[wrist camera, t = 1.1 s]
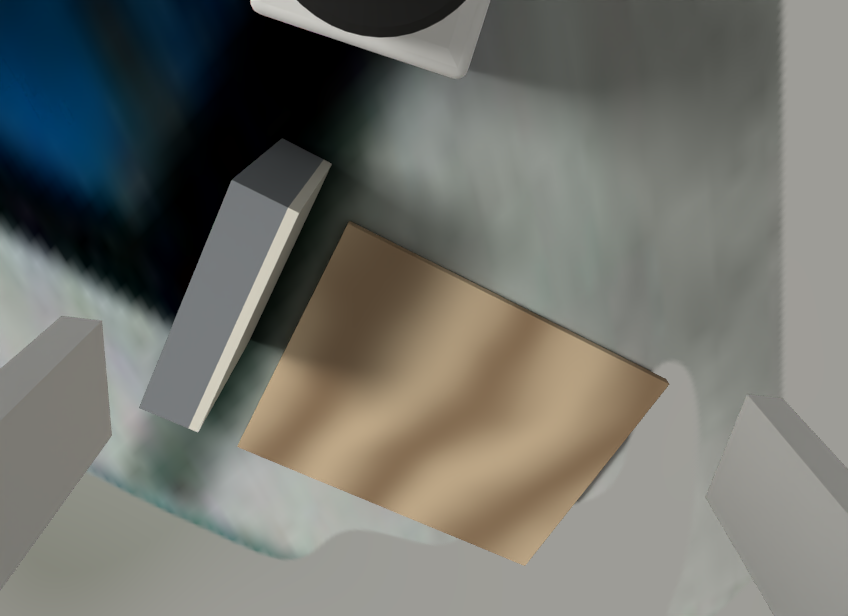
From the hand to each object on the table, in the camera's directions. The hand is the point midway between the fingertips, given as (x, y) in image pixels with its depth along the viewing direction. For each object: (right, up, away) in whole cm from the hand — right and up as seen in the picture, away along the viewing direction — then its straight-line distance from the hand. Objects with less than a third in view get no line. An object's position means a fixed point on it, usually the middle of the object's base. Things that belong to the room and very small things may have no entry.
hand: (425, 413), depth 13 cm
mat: (+1, -3, +21) cm, 21 cm away
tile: (-7, +5, +17) cm, 19 cm away
